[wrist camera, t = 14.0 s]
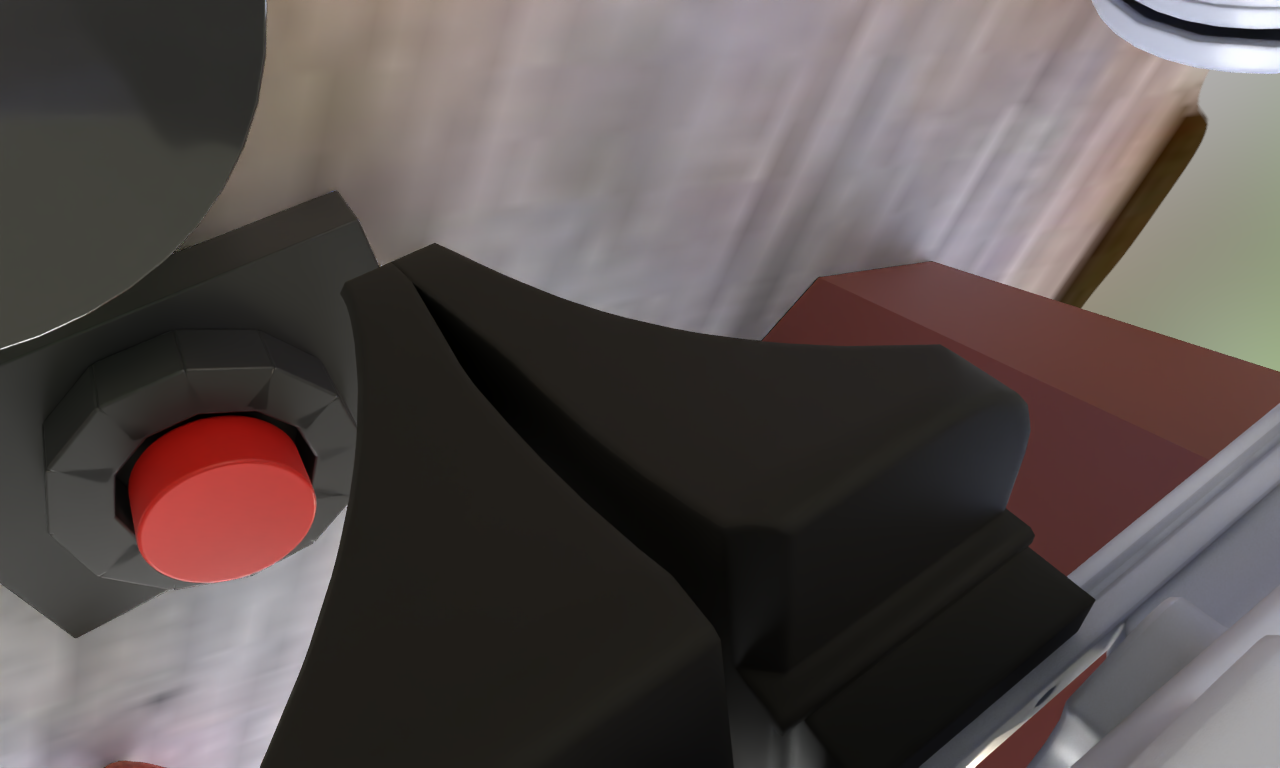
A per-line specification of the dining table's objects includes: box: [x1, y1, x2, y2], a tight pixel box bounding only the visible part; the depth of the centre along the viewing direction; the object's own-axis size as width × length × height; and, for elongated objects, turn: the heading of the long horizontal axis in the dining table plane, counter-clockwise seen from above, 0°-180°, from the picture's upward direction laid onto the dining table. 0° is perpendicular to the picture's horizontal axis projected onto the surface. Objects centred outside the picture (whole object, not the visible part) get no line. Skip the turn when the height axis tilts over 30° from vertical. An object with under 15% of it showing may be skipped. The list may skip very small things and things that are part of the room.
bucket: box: [762, 261, 1280, 768], centre depth 31 cm, size 24×22×25 cm
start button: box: [128, 415, 317, 583], centre depth 18 cm, size 4×4×2 cm
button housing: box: [0, 191, 379, 638], centre depth 19 cm, size 11×8×4 cm
